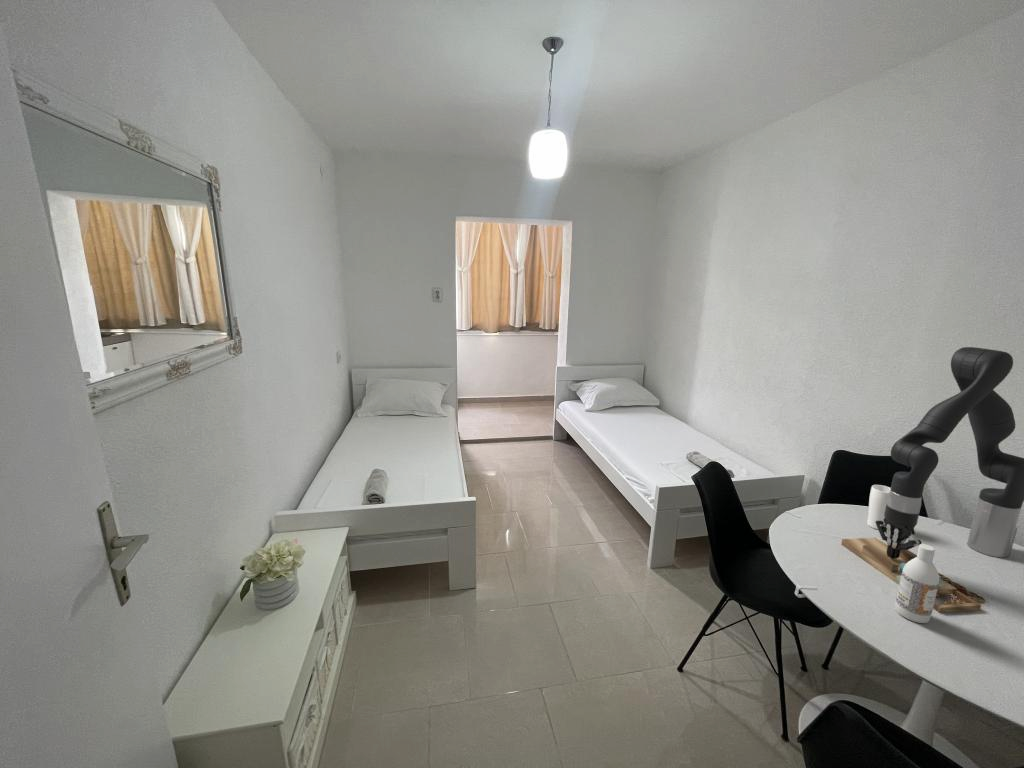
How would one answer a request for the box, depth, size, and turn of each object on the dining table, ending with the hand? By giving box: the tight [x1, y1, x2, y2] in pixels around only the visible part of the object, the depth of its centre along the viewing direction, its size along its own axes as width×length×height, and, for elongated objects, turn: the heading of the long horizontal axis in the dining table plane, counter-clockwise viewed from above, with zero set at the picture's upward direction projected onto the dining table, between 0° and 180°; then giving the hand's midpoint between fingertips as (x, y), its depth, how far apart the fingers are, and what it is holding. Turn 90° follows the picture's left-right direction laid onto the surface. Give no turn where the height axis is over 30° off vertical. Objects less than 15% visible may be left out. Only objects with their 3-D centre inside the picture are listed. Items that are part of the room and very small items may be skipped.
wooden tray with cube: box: [841, 537, 982, 614], centre depth 130 cm, size 12×32×4 cm, turn 5°
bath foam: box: [894, 543, 940, 624], centre depth 112 cm, size 7×7×20 cm
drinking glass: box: [866, 484, 891, 530], centre depth 154 cm, size 7×7×15 cm
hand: (892, 557), depth 134 cm, fingers closed
